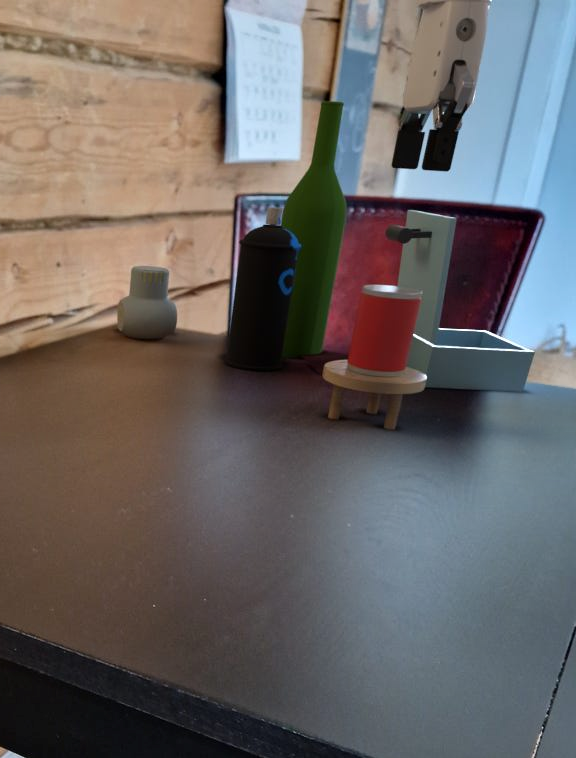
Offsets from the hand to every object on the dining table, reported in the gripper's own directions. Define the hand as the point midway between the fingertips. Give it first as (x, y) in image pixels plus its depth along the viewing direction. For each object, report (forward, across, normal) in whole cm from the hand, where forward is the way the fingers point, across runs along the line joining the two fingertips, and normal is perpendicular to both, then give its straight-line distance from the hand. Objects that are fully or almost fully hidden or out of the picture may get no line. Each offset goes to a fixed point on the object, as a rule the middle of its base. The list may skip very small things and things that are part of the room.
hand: (419, 169), depth 102 cm
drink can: (+19, -20, +8) cm, 29 cm away
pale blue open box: (+25, +4, -13) cm, 29 cm away
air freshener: (+26, +27, +28) cm, 46 cm away
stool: (+25, -20, +8) cm, 33 cm away
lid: (+12, +5, -6) cm, 14 cm away
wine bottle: (+26, +19, +6) cm, 33 cm away
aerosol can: (+26, +9, +14) cm, 31 cm away
